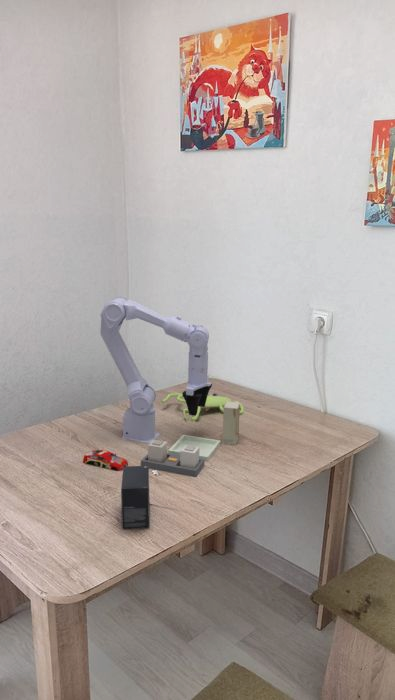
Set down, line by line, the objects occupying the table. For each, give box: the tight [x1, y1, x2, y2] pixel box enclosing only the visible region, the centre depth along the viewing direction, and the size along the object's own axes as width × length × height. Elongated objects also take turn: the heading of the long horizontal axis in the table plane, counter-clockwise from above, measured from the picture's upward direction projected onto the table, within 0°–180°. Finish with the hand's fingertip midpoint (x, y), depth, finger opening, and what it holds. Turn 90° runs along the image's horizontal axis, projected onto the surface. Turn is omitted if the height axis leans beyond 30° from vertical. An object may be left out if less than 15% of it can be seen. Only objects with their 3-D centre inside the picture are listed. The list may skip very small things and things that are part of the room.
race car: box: [82, 449, 129, 472], centre depth 155 cm, size 13×5×4 cm, turn 65°
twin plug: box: [147, 439, 168, 463], centre depth 155 cm, size 4×4×6 cm
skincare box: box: [221, 401, 241, 446], centre depth 170 cm, size 6×4×12 cm
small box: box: [120, 465, 151, 530], centre depth 130 cm, size 11×6×10 cm, turn 5°
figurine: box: [161, 392, 245, 422], centre depth 197 cm, size 18×27×6 cm
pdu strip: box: [140, 452, 206, 478], centre depth 154 cm, size 16×7×3 cm, turn 70°
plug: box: [180, 445, 200, 469], centre depth 152 cm, size 4×4×6 cm
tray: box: [167, 434, 222, 462], centre depth 165 cm, size 12×12×2 cm
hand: (197, 410), depth 170 cm, fingers open, 7 cm apart
